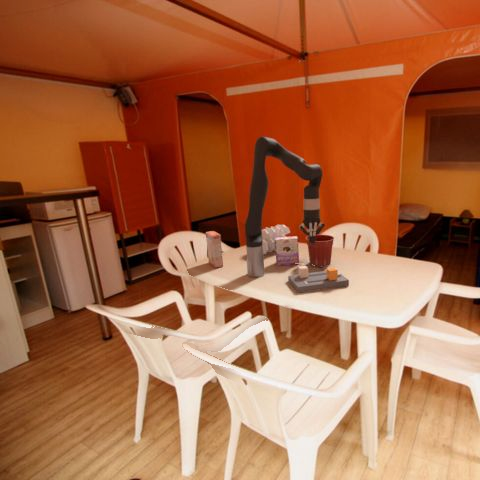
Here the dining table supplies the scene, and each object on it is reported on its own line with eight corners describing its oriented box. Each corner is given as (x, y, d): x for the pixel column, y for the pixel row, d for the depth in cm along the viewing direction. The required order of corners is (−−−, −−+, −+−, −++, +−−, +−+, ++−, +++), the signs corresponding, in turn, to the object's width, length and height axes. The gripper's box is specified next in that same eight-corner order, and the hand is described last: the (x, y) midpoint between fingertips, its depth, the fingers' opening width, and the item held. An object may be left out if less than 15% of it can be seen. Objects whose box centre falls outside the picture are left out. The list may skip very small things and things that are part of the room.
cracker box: (223, 266, 205) (220, 234, 200) (214, 268, 203) (211, 235, 198) (217, 260, 218) (214, 230, 213) (208, 262, 216) (205, 231, 210)
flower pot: (334, 259, 202) (334, 234, 198) (334, 268, 186) (334, 241, 182) (307, 259, 206) (306, 234, 202) (305, 268, 191) (304, 241, 187)
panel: (298, 292, 158) (297, 285, 157) (288, 281, 174) (288, 274, 173) (348, 285, 162) (348, 278, 161) (334, 274, 177) (334, 267, 176)
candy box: (298, 261, 204) (297, 235, 200) (299, 264, 198) (298, 238, 194) (276, 262, 205) (274, 236, 201) (276, 265, 199) (274, 239, 195)
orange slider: (329, 280, 162) (329, 271, 160) (326, 277, 165) (326, 268, 164) (337, 279, 162) (337, 270, 161) (334, 276, 166) (333, 267, 165)
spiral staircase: (255, 260, 226) (279, 249, 241) (270, 253, 212) (295, 243, 227) (244, 235, 227) (269, 227, 242) (259, 227, 213) (285, 218, 228)
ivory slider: (301, 278, 168) (300, 268, 166) (298, 275, 172) (298, 266, 170) (308, 277, 168) (308, 267, 167) (305, 274, 172) (305, 265, 171)
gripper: (321, 205, 159) (322, 240, 163) (295, 207, 157) (296, 242, 162) (328, 207, 152) (328, 243, 156) (300, 210, 150) (301, 246, 154)
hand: (311, 243), depth 159 cm, fingers closed
